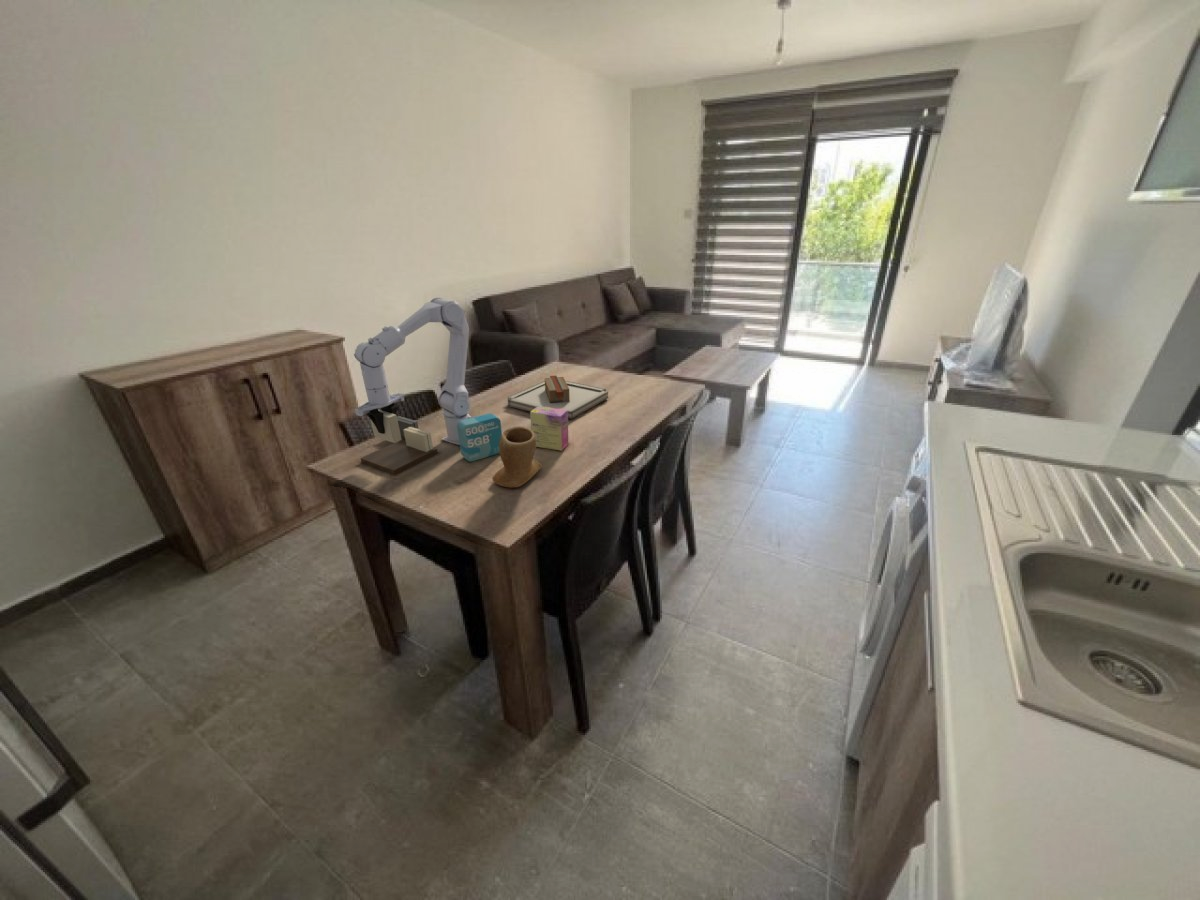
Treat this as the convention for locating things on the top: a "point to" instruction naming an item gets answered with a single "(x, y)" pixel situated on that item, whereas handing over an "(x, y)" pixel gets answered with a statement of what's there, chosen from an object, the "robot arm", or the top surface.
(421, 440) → the cream books
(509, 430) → the stone cup
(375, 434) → the white book
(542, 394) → the grey square tray
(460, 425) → the data package
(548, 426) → the box
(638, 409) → the top surface
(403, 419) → the grey books
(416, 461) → the shelf board
